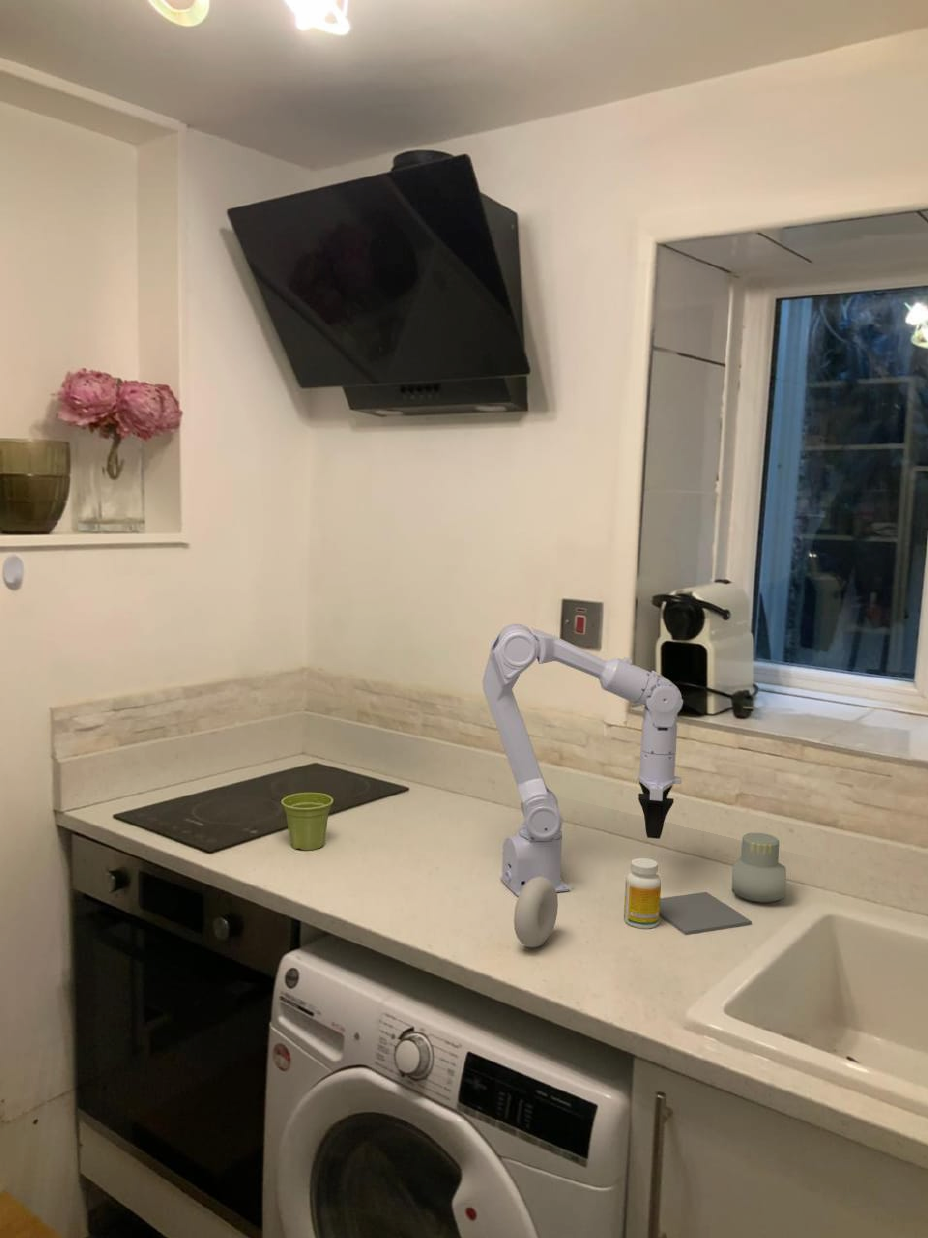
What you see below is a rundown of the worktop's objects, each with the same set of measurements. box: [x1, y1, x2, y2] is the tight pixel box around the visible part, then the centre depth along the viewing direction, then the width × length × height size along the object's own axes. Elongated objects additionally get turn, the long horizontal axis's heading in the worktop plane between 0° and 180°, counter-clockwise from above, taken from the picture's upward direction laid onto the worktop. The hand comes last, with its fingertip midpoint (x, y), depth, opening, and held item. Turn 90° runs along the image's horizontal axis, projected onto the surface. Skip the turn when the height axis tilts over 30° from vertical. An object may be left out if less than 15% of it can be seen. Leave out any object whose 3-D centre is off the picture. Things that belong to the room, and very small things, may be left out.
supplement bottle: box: [623, 857, 662, 930], centre depth 149 cm, size 5×5×10 cm
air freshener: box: [731, 832, 787, 903], centre depth 161 cm, size 11×8×10 cm
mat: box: [659, 891, 753, 936], centre depth 153 cm, size 12×12×1 cm
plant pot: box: [281, 792, 334, 852], centre depth 179 cm, size 9×9×9 cm
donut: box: [513, 877, 559, 948], centre depth 141 cm, size 10×4×10 cm, turn 149°
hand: (653, 830), depth 162 cm, fingers open, 7 cm apart
